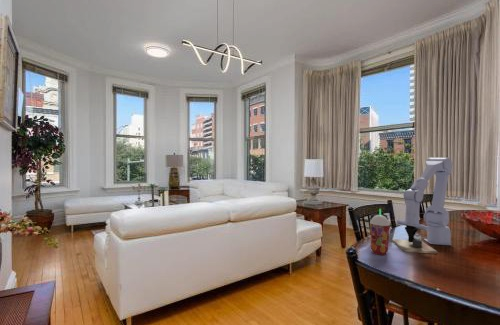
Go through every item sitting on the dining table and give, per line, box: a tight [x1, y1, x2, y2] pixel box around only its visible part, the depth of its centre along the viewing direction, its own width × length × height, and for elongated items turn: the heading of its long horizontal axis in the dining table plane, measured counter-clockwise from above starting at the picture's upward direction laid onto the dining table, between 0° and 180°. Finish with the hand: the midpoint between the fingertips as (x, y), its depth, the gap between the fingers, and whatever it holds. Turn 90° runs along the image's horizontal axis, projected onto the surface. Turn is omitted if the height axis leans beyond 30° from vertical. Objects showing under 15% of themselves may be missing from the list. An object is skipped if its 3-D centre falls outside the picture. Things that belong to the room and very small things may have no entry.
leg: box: [413, 233, 423, 248], centre depth 130 cm, size 12×4×3 cm, turn 147°
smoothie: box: [369, 208, 391, 256], centre depth 121 cm, size 8×8×20 cm
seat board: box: [391, 238, 438, 255], centre depth 130 cm, size 14×16×1 cm
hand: (411, 241), depth 131 cm, fingers closed, pressing on leg
